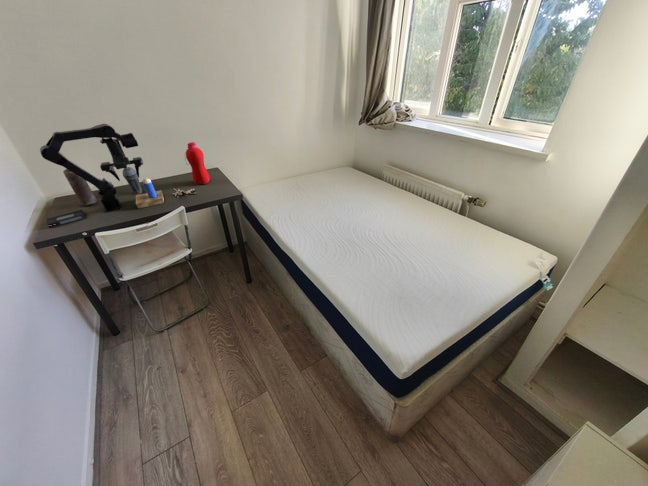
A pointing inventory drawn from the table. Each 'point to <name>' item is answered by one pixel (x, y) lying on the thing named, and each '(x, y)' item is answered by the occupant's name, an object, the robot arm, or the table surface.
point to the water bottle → (197, 164)
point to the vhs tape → (65, 218)
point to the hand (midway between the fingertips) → (129, 179)
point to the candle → (80, 188)
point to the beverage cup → (132, 179)
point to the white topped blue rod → (149, 188)
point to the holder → (149, 200)
